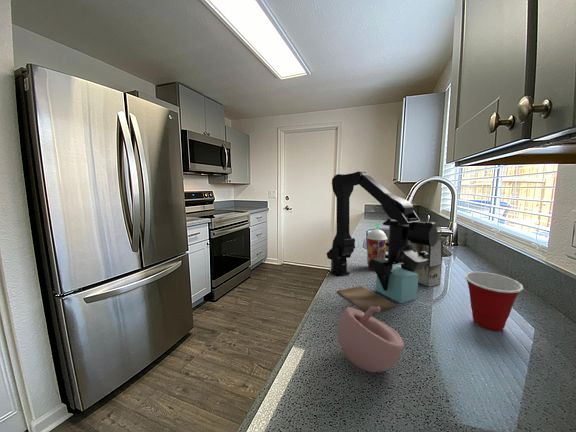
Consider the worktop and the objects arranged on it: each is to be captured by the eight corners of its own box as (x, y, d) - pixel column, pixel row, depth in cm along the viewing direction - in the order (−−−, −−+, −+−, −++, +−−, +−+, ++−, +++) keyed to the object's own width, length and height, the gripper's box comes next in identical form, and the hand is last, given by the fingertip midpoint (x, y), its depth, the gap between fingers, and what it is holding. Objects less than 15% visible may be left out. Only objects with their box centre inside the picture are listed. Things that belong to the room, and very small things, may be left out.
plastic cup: (465, 330, 56) (469, 282, 55) (457, 310, 66) (461, 269, 65) (526, 344, 51) (532, 291, 50) (508, 320, 61) (513, 275, 60)
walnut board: (337, 292, 77) (337, 290, 77) (360, 287, 81) (360, 285, 81) (369, 314, 64) (369, 312, 64) (396, 306, 68) (396, 305, 68)
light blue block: (375, 290, 79) (376, 267, 78) (391, 286, 82) (392, 264, 81) (400, 303, 70) (402, 277, 69) (416, 298, 73) (418, 274, 72)
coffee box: (441, 284, 84) (445, 240, 82) (428, 287, 82) (431, 242, 80) (419, 275, 92) (422, 236, 91) (407, 277, 90) (409, 237, 89)
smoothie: (389, 271, 97) (391, 224, 95) (369, 271, 97) (371, 224, 95) (381, 265, 105) (383, 221, 103) (362, 265, 105) (364, 221, 103)
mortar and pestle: (417, 382, 41) (421, 321, 40) (354, 395, 38) (357, 329, 37) (377, 340, 53) (379, 291, 51) (327, 347, 50) (328, 296, 49)
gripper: (398, 249, 63) (395, 304, 64) (443, 243, 70) (439, 292, 72) (368, 241, 73) (366, 289, 75) (410, 236, 80) (407, 280, 82)
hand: (395, 287), depth 76 cm, fingers open, 9 cm apart
